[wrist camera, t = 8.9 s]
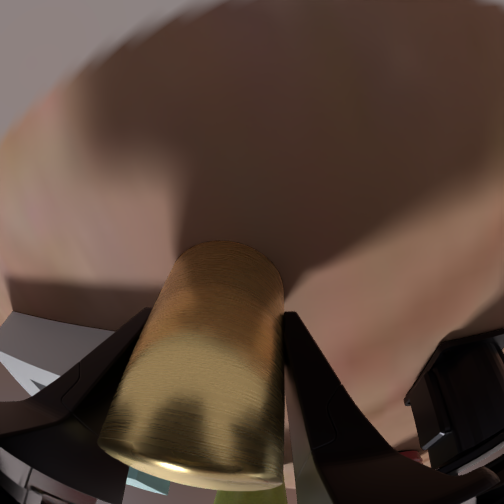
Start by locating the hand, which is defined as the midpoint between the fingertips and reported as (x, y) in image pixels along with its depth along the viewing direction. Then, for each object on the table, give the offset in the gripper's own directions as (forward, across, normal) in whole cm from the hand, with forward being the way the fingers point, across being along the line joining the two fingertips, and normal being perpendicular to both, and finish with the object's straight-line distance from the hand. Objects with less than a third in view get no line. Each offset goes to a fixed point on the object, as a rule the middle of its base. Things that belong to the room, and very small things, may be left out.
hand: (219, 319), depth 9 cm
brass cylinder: (+2, 0, 0) cm, 2 cm away
